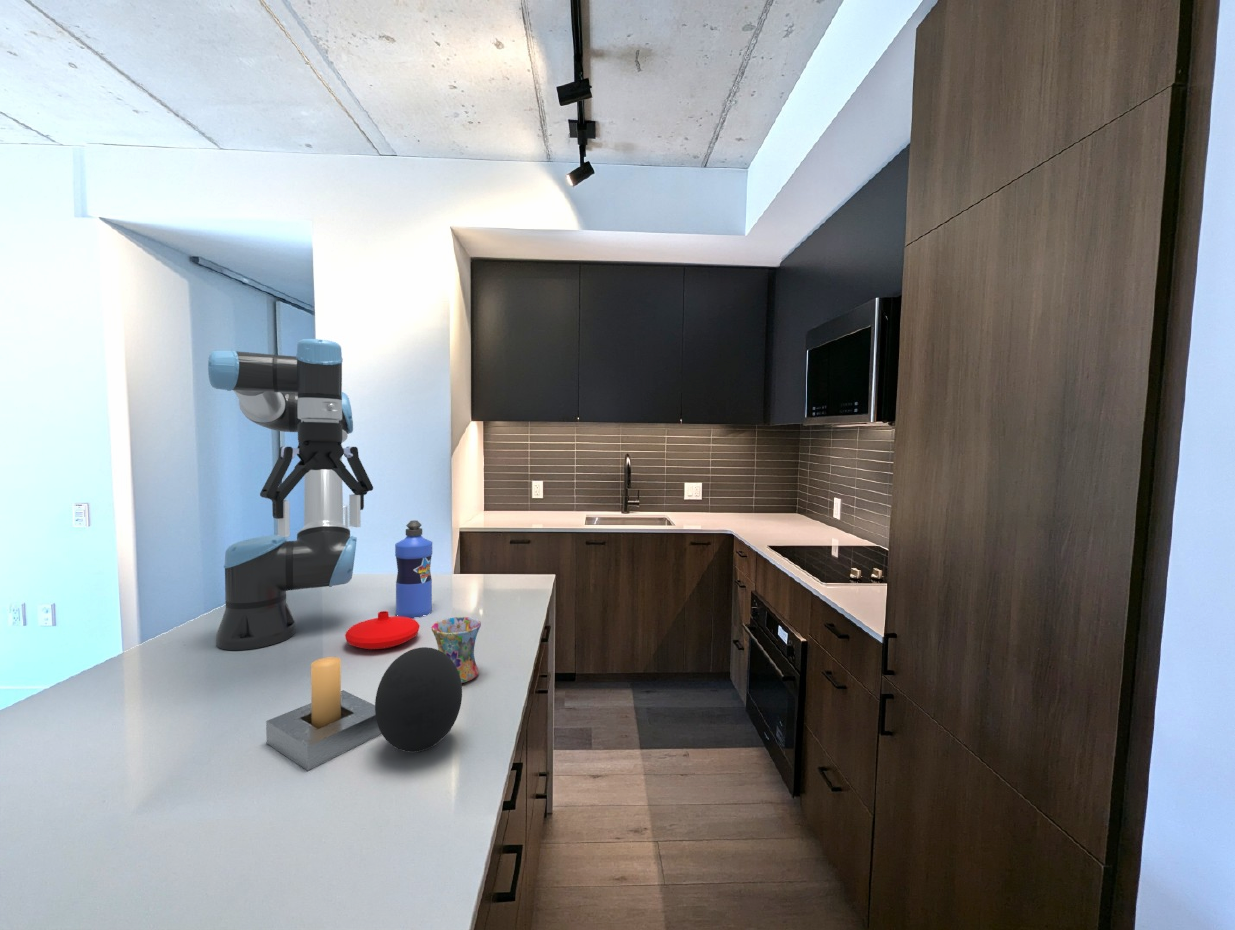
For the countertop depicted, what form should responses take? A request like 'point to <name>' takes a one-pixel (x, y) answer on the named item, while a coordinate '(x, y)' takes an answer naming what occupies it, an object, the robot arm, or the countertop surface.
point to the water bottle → (413, 573)
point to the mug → (459, 643)
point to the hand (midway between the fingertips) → (321, 531)
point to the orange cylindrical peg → (325, 691)
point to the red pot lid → (382, 631)
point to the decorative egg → (418, 699)
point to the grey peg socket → (322, 732)
